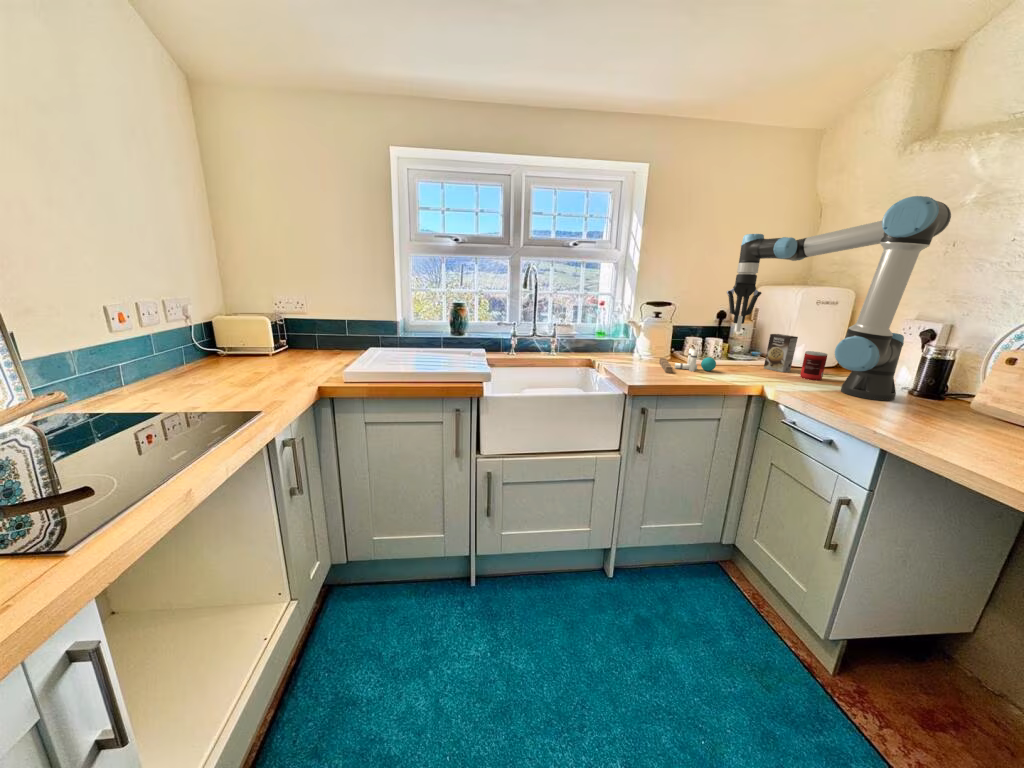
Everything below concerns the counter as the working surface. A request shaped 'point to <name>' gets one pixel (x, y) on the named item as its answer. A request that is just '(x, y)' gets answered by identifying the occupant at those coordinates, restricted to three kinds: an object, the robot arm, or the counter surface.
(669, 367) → the rail
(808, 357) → the canned food
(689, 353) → the back pin far
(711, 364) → the ball
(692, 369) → the back pin near
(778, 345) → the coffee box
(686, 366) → the front pin
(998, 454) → the counter surface
